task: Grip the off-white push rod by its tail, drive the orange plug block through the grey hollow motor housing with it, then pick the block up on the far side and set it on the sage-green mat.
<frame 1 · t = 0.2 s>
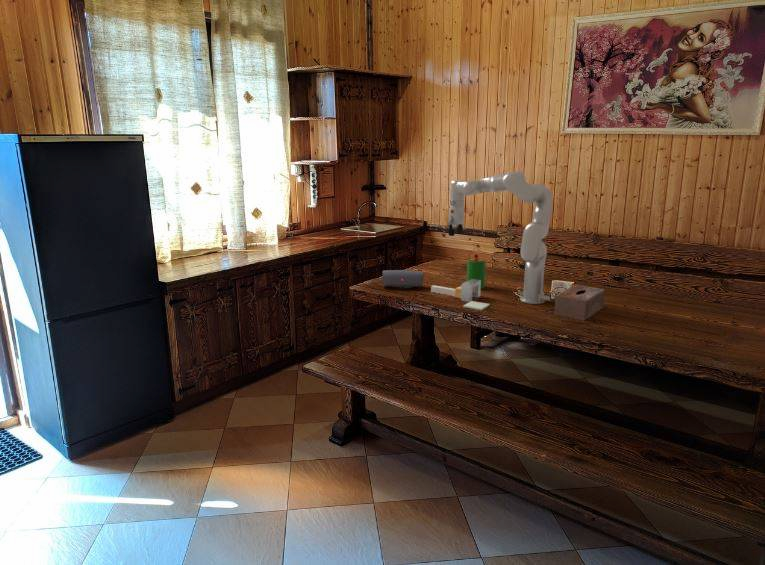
hand: (455, 234, 302), 31 cm above the table, tool pointing down, fingers open, 9 cm apart
motor: (475, 287, 311), on the table
mat: (476, 306, 276), on the table
plug block: (461, 296, 293), on the table
bluetooth speaker: (402, 287, 311), on the table
push rod: (443, 294, 299), on the table
housing: (470, 298, 290), on the table
tissue box cover: (578, 312, 268), on the table
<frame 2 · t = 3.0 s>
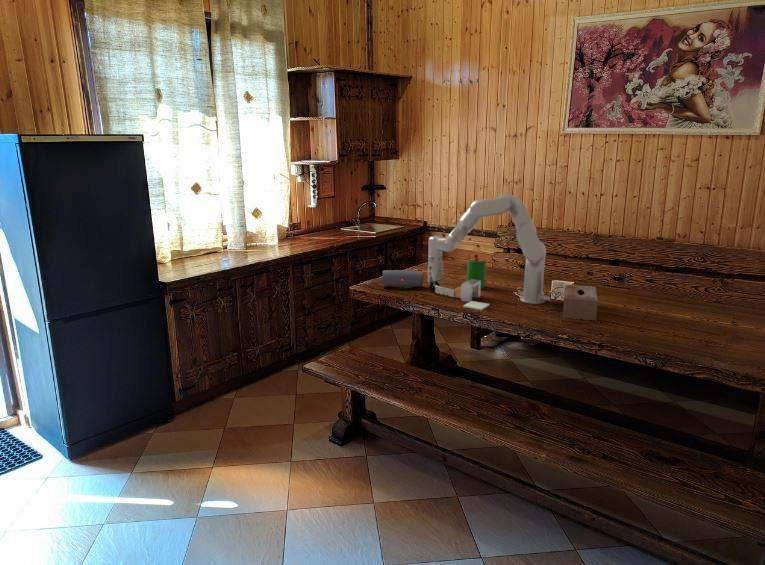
hand: (434, 291, 302), 1 cm above the table, tool pointing down, fingers open, 4 cm apart
push rod: (443, 294, 298), on the table, touching gripper
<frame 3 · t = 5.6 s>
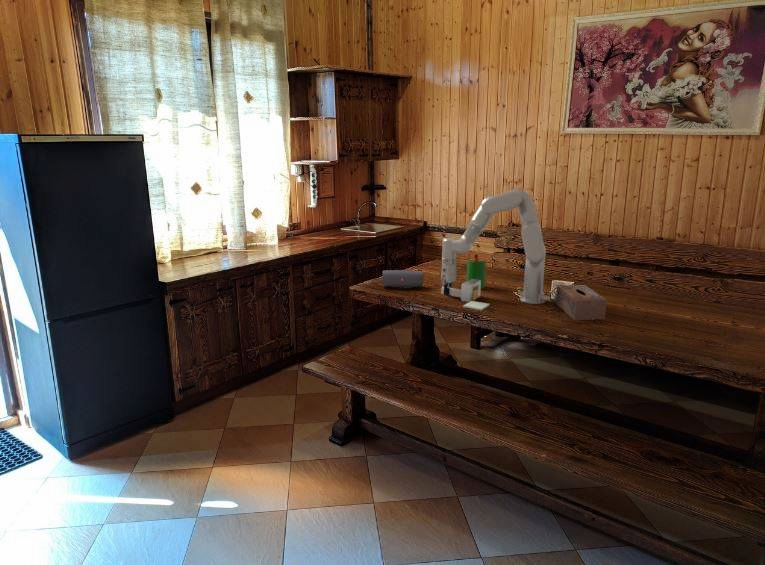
hand: (447, 293, 297), 0 cm above the table, tool pointing down, fingers closed on push rod, 2 cm apart
plug block: (471, 298, 289), on the table, touching push rod
push rod: (454, 295, 295), on the table, touching gripper, plug block
when the fingers open (0 cm above the table, at t = 7.9 s): push rod stays where it is, on the table.
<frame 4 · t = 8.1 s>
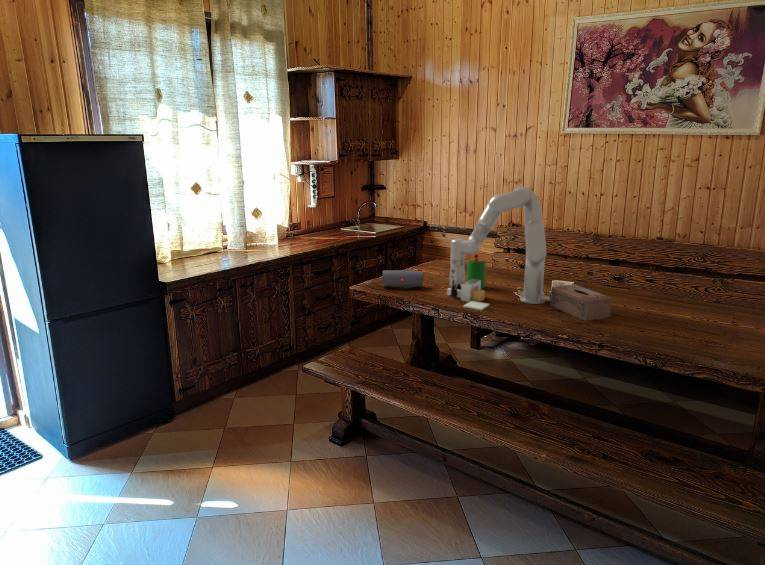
hand: (456, 294, 294), 1 cm above the table, tool pointing down, fingers open, 4 cm apart
plug block: (477, 299, 287), on the table
push rod: (460, 297, 293), on the table
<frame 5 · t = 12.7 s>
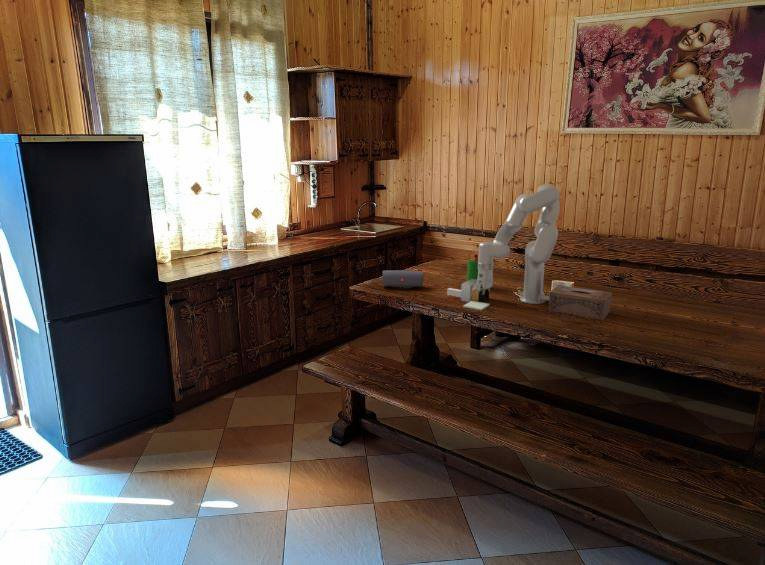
hand: (483, 299, 286), 0 cm above the table, tool pointing down, fingers closed on plug block, 4 cm apart
plug block: (477, 299, 287), on the table, touching gripper
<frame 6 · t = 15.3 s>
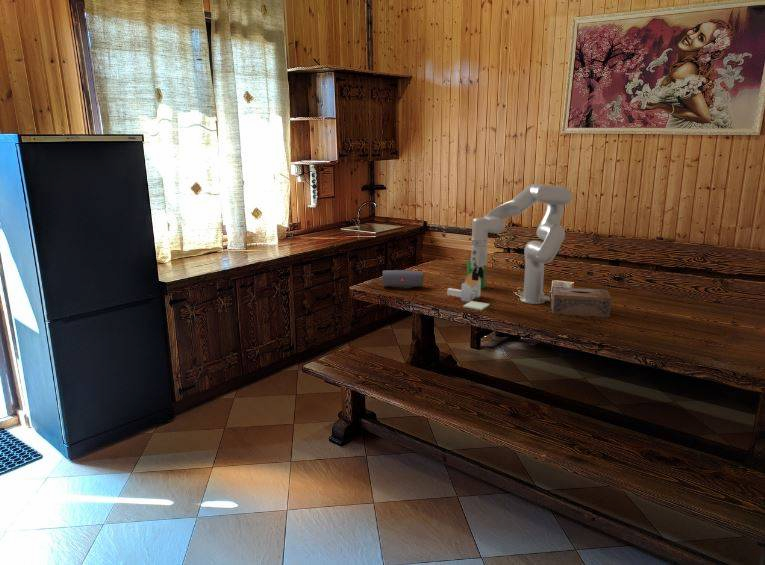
hand: (477, 278, 273), 14 cm above the table, tool pointing down, fingers closed on plug block, 4 cm apart
plug block: (476, 282, 274), point 12 cm above the table, tilted 55°, touching gripper
when the fingers open (3 cm above the table, at t = 17.9 s): plug block drops 2 cm, resting on mat.
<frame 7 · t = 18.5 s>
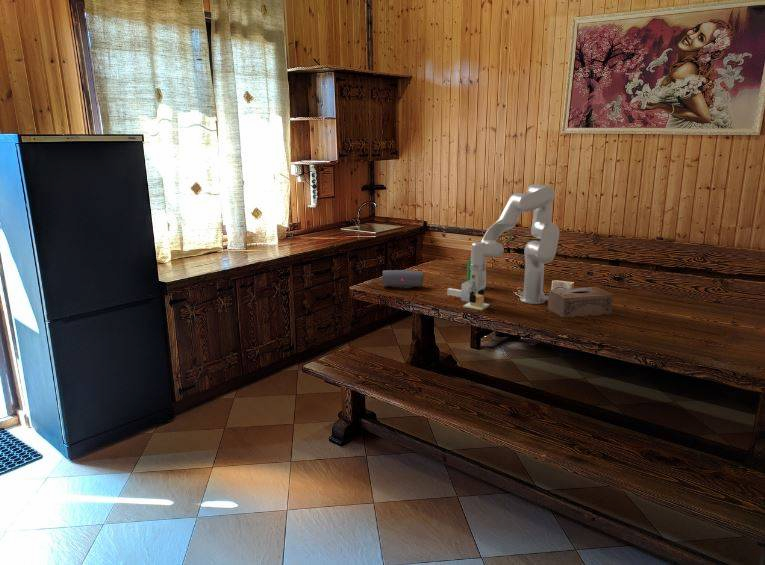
hand: (476, 300, 275), 3 cm above the table, tool pointing down, fingers open, 9 cm apart
plug block: (476, 305, 276), point 1 cm above the table, touching mat
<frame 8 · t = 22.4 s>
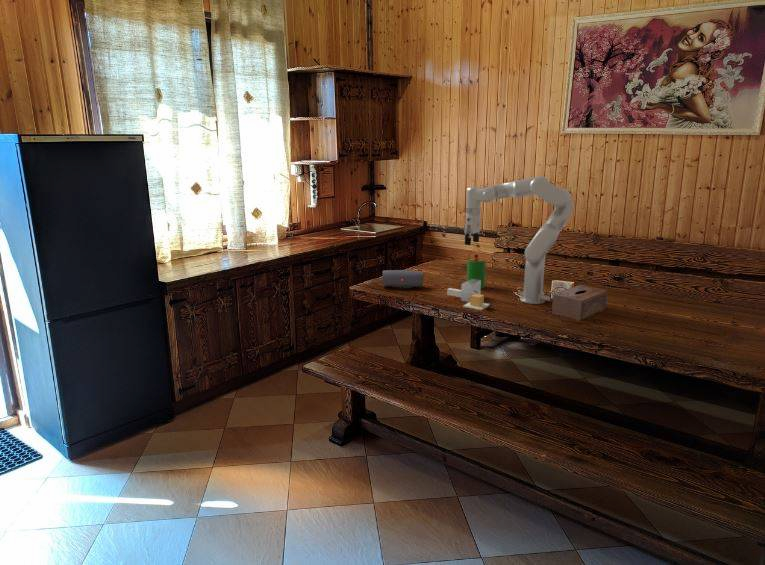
hand: (471, 243, 289), 28 cm above the table, tool pointing down, fingers open, 9 cm apart
at the end: plug block inside the target area on the mat (0.4 cm from its centre), point 0.8 cm above the mat's base; the gripper is holding nothing; push rod moved 10.2 cm from its start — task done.
